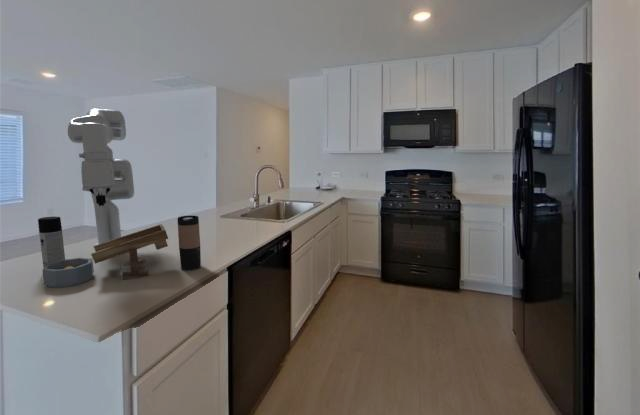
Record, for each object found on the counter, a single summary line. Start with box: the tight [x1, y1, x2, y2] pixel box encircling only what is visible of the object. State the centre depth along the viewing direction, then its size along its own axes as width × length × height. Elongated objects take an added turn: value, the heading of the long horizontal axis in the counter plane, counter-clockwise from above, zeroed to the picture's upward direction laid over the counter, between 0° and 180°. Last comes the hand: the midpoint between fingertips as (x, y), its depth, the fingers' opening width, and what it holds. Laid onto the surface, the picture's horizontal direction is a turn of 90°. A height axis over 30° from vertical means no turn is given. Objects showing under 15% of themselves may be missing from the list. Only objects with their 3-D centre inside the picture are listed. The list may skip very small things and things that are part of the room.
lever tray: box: [90, 223, 169, 264], centre depth 125 cm, size 20×24×7 cm
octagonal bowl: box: [42, 257, 95, 289], centre depth 112 cm, size 13×13×6 cm
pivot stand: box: [121, 248, 149, 281], centre depth 122 cm, size 18×8×10 cm, turn 31°
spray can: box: [37, 216, 66, 268], centre depth 122 cm, size 7×7×20 cm
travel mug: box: [177, 215, 202, 271], centre depth 125 cm, size 8×8×20 cm
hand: (101, 205), depth 124 cm, fingers closed
